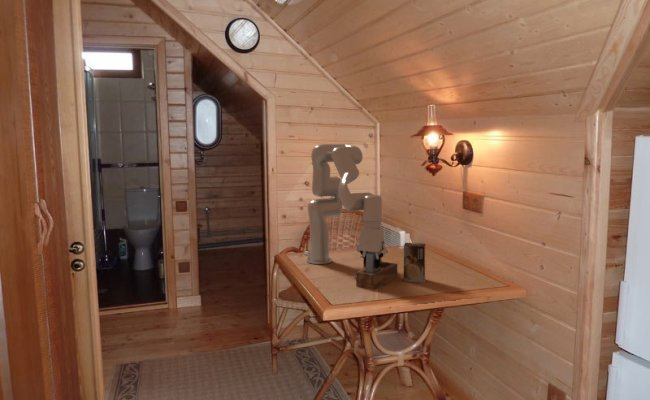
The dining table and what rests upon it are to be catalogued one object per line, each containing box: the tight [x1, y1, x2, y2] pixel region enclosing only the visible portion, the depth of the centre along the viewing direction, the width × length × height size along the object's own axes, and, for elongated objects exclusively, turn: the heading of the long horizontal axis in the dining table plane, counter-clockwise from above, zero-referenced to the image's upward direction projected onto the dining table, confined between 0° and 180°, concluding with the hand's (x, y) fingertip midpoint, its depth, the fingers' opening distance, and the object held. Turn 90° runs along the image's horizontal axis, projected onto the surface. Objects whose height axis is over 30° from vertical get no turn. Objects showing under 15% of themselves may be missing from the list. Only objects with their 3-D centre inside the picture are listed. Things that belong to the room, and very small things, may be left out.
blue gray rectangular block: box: [366, 252, 379, 274], centre depth 213 cm, size 3×6×12 cm, turn 147°
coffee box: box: [403, 242, 426, 284], centre depth 219 cm, size 9×6×16 cm
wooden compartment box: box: [355, 260, 398, 290], centre depth 218 cm, size 9×22×6 cm, turn 148°
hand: (371, 266), depth 213 cm, fingers open, 4 cm apart
